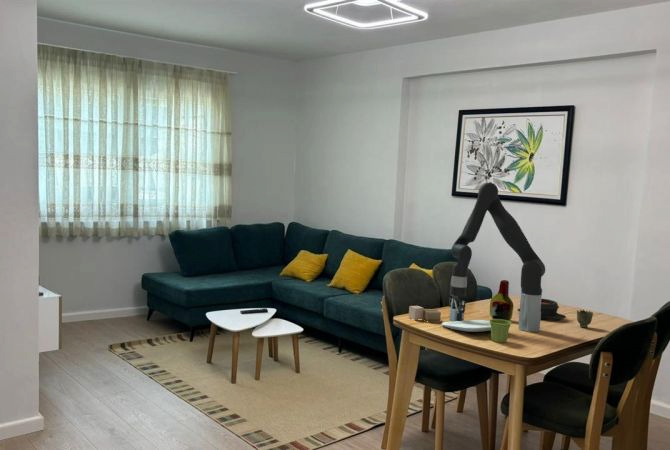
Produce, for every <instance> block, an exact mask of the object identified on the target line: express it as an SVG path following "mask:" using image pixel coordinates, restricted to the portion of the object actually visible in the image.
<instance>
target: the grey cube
mask: <svg viewBox="0 0 670 450" xmlns="http://www.w3.org/2000/svg"><path fill="white" fill-rule="evenodd" d="M464 315H465V313H462V320H461V321H465V320H464V319H465V317H464ZM451 321H452V322H453V321H457V309H450V310H449V322H451Z"/></svg>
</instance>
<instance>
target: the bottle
mask: <svg viewBox="0 0 670 450" xmlns="http://www.w3.org/2000/svg"><path fill="white" fill-rule="evenodd" d="M509 285H510V281H508V280H507V279H502V280H500V282H499V287H498V288H499V289H498V291H497V293H496V294H495V295H493V296H492V297H491V298H490V302H489V315H490V316H491V319H502V320H507V321H511V320H512V317H513V313H514V312H513V311H514V303H513V300H512V299H511V297H510V295H509V288H510V286H509Z"/></svg>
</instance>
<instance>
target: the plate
mask: <svg viewBox="0 0 670 450" xmlns="http://www.w3.org/2000/svg"><path fill="white" fill-rule="evenodd" d="M441 326H443V327H445V328H447V329H449V328H450V330H456V331H462V332H470V333H471V332H472V333H473V332H474V333H475V332H476V333H478V332H479V333H481V332H491V325H490V322H489V320H483V319H467V320H463V321H453V322H451V321H444V322H442V323H441Z"/></svg>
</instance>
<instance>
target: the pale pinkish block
mask: <svg viewBox="0 0 670 450" xmlns="http://www.w3.org/2000/svg"><path fill="white" fill-rule="evenodd" d="M424 309H425V308H424V307H422V306H419V305H409V307H408V319H409V318H411V319H410V320H412V319H414V320H417V321H419V320H418V319H423V313H424ZM414 320H413V321H414Z"/></svg>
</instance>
